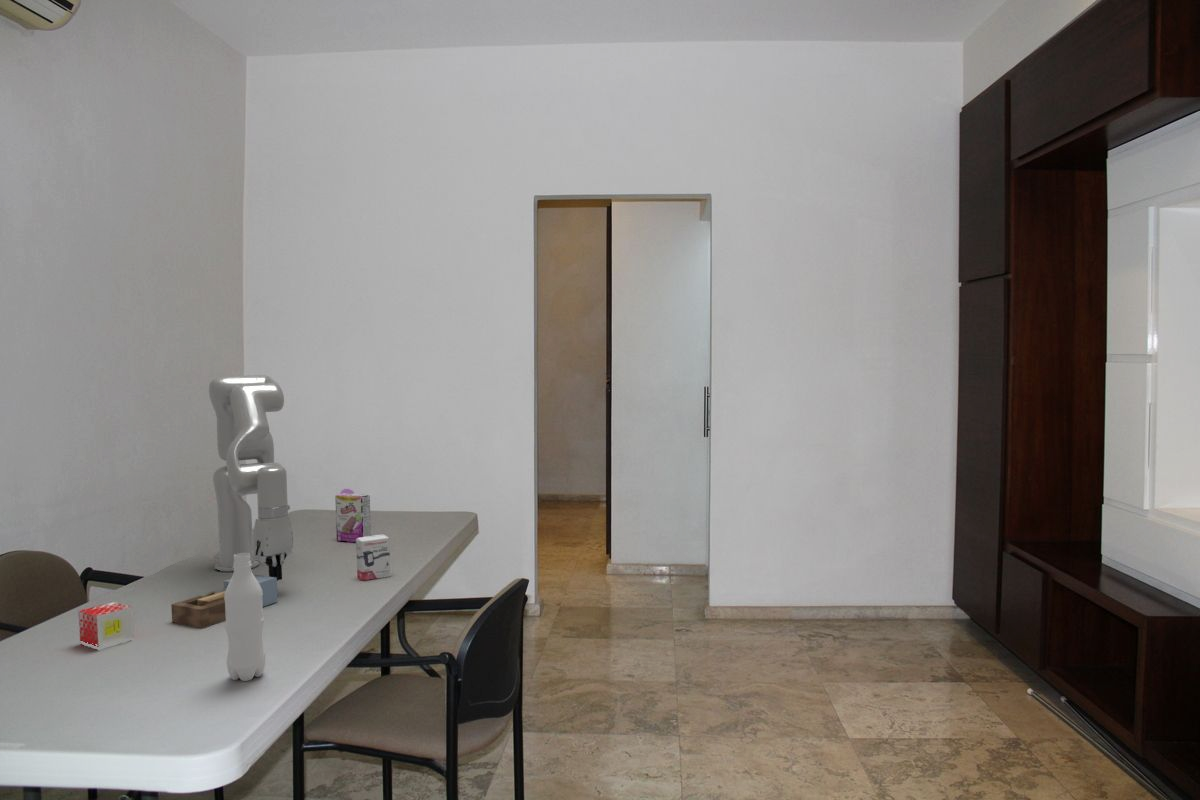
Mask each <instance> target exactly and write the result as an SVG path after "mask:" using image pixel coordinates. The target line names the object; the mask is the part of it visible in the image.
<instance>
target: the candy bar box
mask: <svg viewBox="0 0 1200 800" xmlns="http://www.w3.org/2000/svg"><path fill="white" fill-rule="evenodd" d="M370 497H371V496H370V494H359V493H354V494H346V493H343V494H340V493H339V494H336V495H335V520H336V521H335V525H336V527H335V528H336V542H339V541H347V542H346V543H352V542H356V539H357V538H360V537H367V536H372V531H371V529H372V528H371V527H372V526H371V498H370Z"/></svg>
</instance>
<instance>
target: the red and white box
mask: <svg viewBox="0 0 1200 800" xmlns="http://www.w3.org/2000/svg"><path fill="white" fill-rule="evenodd" d="M133 612H134V611H133V606H130V605H126V604H123V603H119V602H116V601H113V602H108V603H105V604H100V605H97V606H93V607H88V608H84V609H81V610H78V611H77V613H78V627H79V629H78V630H79V642H80V641H83V642H85V643H87V642H88V644H92V643H93V644H92V645H94V646H96V645H95V644H97V645H98V646H97V647H100V646H101V645H107V644H110V643H114V642H117V641H122V640H125V639H129V638H134V639H135V632H134V631H135V630H134V629H135V628H134V613H133Z"/></svg>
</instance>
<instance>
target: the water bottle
mask: <svg viewBox="0 0 1200 800" xmlns="http://www.w3.org/2000/svg"><path fill="white" fill-rule="evenodd" d="M233 564H234V565H233V568H234V571H233V572H232V573H233V574H232V576H231V578H230V579H231V580H230V582H229V584H228V586H227V589H226V591H225V595H224V600H225V613H226V620H225V621H224V624H225V626H224V627H225V630H226V634H227V639H228V640H227V642H228V652H227V657H226V668H227V673H228V675H229V677H230V678H231V680H233V681H238V680H239V679H240V680H241V681H242V682H249V681H251V680H253V678H254V676H255V677H256V678H259V677H261V676H262V674H263V673H264V671H265V667H266V653H265V648H264V644H263V628H264V622H265V618H264V611H263V609H264V607H263V604H262V595H263V593H262V588H261V586H260V584H259V583H258V581H257V580H256V578H255V577H254V575H253V574H254V573H253V572H252V568H251V566H252V564H251V561H250V554H249V553H239V554H235V555H234V563H233Z"/></svg>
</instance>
